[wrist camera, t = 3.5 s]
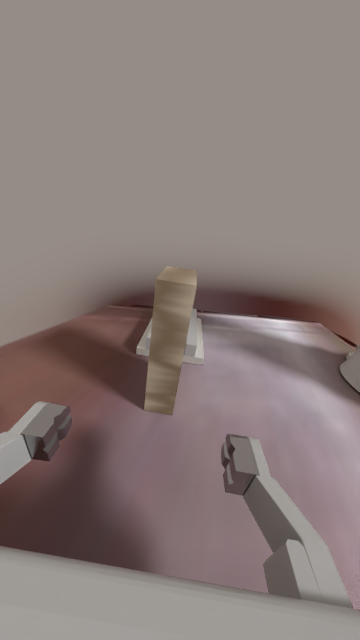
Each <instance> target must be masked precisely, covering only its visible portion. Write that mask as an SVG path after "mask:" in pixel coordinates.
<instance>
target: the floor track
mask: <svg viewBox="0 0 360 640" xmlns="http://www.w3.org/2000/svg"><path fill="white" fill-rule="evenodd" d="M151 328H152V319H151V321H150V323H149V325H148V326H147V328H146V330H145V332H144V334H143V336H142V338H141V340H140V342H139V344H138V346H137V349H136V354H138V355H144V356H149V350H150V339H151ZM203 360H204V353H203V338H202V323H201V319H199V318H197V309H192V313H191V318H190V324H189V329H188V334H187V339H186V345H185V350H184V355H183V361H182V362H186V363H192V364H198V365H202V364H203Z"/></svg>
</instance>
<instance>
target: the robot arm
mask: <svg viewBox="0 0 360 640" xmlns="http://www.w3.org/2000/svg"><path fill="white" fill-rule="evenodd" d="M340 371H341V373H342V375H343V376H344V378H345V379H346V380H347V381H348V382H349V383H350V384H351V385H352V386H353V387H354V388H355V389H356V390H357V391H359V392H360V346H359V347H358V348H357V349H356V350H355V352H350V353H349V354H348V355H347V356H346V361H344V362H343V363H342V364H341V365H340ZM70 412H71V410H70V407H68V406H63V405H57V404H52V403H47V402H41V401H39V402H37V403H35V404H34V405H33V406H32V407H31V408H30V409H29V410H28V411H27V413H26V414H25V415H24V416H23V417H22V418H21V419H20V420H19V421H18V422H17V423H16V424H15V425H14V426H13V427H12V428H11V429H10V430H9V431H8V432H3V433H1V434H0V484H1V483H3V482H4V481H5V480H6V479H8V478H9V477H10V476H12V475H13V474H14V473H15V472H17V471H18V470H19V469H21V468H22V467H23V466H24V465H26V464H27V463H28V462H30V461H31V459H35V460H43V461H50V460H51V458H52V457H53V455H54V454H55V452H56V451H57V449H58V448H59V441H60V440H62V439H63V438H65V437H66V435H67V434H68V432H69V430H70V427H71V425H72V417H71V416H70V415H69V413H70ZM221 461H222V465H223V467H224V468H225V472H224V474H223V478H224V487H225V492H227V493H232V494H237V495H242V496H243V498H244V500H245V502H246V503H247V505H248V507H249V509H250V511H251V513H252V515H253V516H254V518H255V520H256V522H257V524H258V526H259V527H260V529H261V531H262V533H263V535H264V537H265V538H266V540H267V542H268V544H269V546H270V548H271V550H272V551H273V554H272V555H271V556H270V557H269V558H268V559H267V560H266V561H265V562H264V564H263V567H264V572H265V577H266V582H267V587H268V592H269V594H268V593H262V592H256V591H251V590H245V589H240V588H234V587H228V586H223V585H217V584H211V583H206V582H200V581H195V580H189V579H183V578H178V577H172V576H167V575H161V574H155V573H150V572H144V571H138V570H133V569H127V568H122V567H116V566H110V565H105V564H99V563H94V562H88V561H82V560H77V559H71V558H66V557H60V556H54V555H49V554H43V553H37V552H32V551H26V550H21V549H15V548H9V547H4V546H0V640H360V610H357V609H354V608H353V606H352V604H351V601H350V599H349V597H348V594H347V592H346V589H345V587H344V585H343V582H342V580H341V578H340V575H339V573H338V570H337V568H336V566H335V563H334V561H333V558H332V556H331V554H330V551H329V549H328V547H327V545H326V543H325V542H324V541H323V540H322V538H321V537H320V536H319V534H318V533H317V532H316V531H315V529H314V528H313V527H312V526H311V524H310V523H309V522H308V520H307V519H306V518H305V517H304V515H303V514H302V513H301V512H300V510H299V509H298V508H297V506H296V505H295V504H294V503H293V501H292V500H291V499H290V498H289V496H288V495H287V494H286V493H285V491H284V490H283V489H282V487H281V486H280V485H279V484H278V482H277V481H276V480H275V479H274V478H271V475H270V472H269V469H268V466H267V463H266V460H265V456H264V453H263V450H262V447H261V444H260V441H259V440H258V439H257V438H251V437H247V436H240V435H234V434H227V435H226V442H225V443H223V445H222V450H221Z"/></svg>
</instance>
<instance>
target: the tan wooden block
mask: <svg viewBox="0 0 360 640" xmlns="http://www.w3.org/2000/svg"><path fill="white" fill-rule="evenodd" d="M196 280H197V278H196V271H194V270H187V269H182V268H176V267H169V266H167V267H166V268H165V269H164V271H163V272H162V273H161V274H160V275H159V276H158V277H157V278H156V285H155V295H154V306H153V317H152V328H151V339H150V350H149V361H148V372H147V383H146V394H145V405H144V410H145V411H151V412H157V413H163V414H169V415H172V413H173V408H174V403H175V397H176V392H177V387H178V382H179V376H180V371H181V366H182V361H183V355H184V350H185V345H186V339H187V334H188V329H189V324H190V318H191V313H192V308H193V303H194V297H195V292H196V287H197V281H196Z"/></svg>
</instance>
